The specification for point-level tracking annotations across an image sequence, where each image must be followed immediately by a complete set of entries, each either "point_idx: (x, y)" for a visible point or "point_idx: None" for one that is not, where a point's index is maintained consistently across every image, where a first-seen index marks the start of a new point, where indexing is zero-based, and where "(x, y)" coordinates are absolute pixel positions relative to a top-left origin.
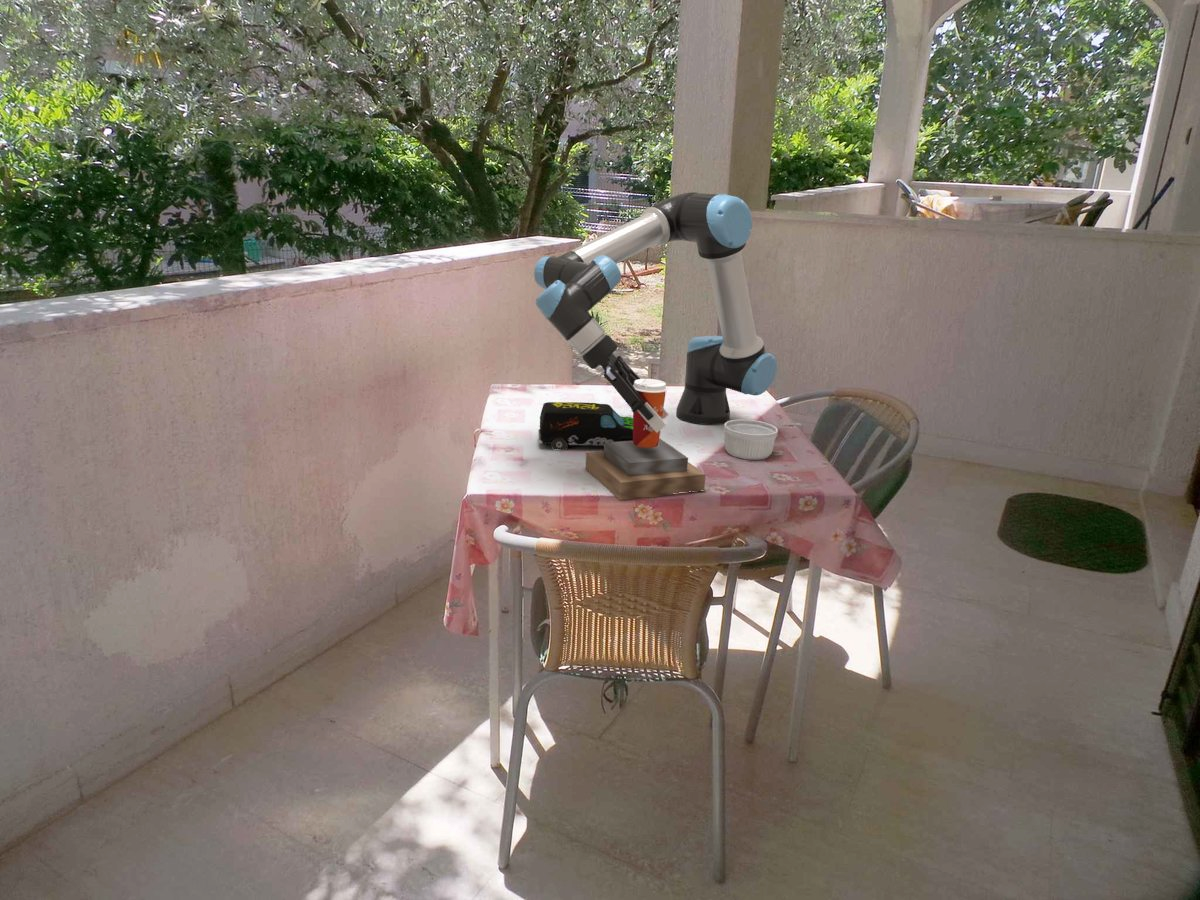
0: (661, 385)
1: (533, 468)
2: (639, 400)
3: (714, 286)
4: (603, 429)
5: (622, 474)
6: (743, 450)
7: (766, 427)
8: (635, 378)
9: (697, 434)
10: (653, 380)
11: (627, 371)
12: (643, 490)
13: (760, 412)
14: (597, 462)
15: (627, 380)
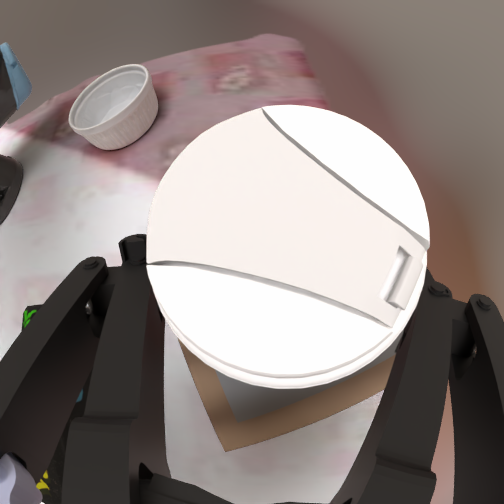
0: (366, 131)
1: None
2: (495, 310)
3: None
4: (86, 393)
5: (386, 360)
6: (149, 115)
7: (98, 85)
8: (119, 348)
9: (44, 198)
10: (202, 186)
11: (135, 460)
12: None
13: (10, 134)
14: (300, 427)
15: (432, 447)
